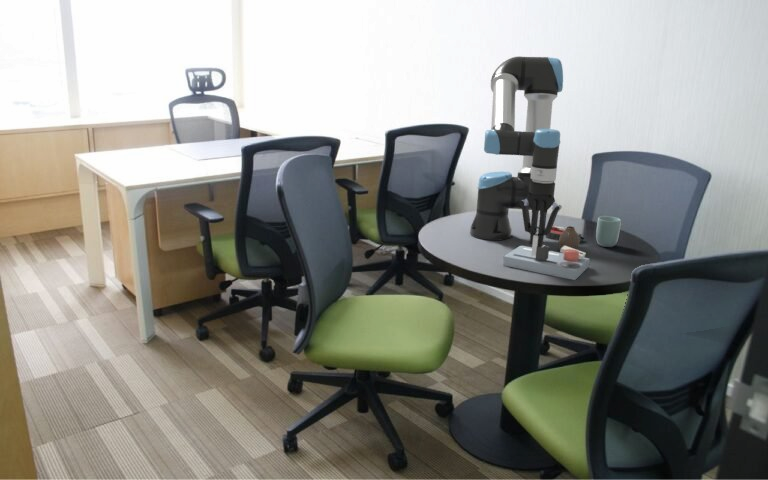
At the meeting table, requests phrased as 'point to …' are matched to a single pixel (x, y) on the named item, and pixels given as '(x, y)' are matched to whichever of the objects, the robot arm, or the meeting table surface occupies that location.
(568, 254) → the button
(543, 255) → the slider
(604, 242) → the cup
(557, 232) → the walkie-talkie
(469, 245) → the meeting table surface
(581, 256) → the rocker
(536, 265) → the console
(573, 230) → the vase
